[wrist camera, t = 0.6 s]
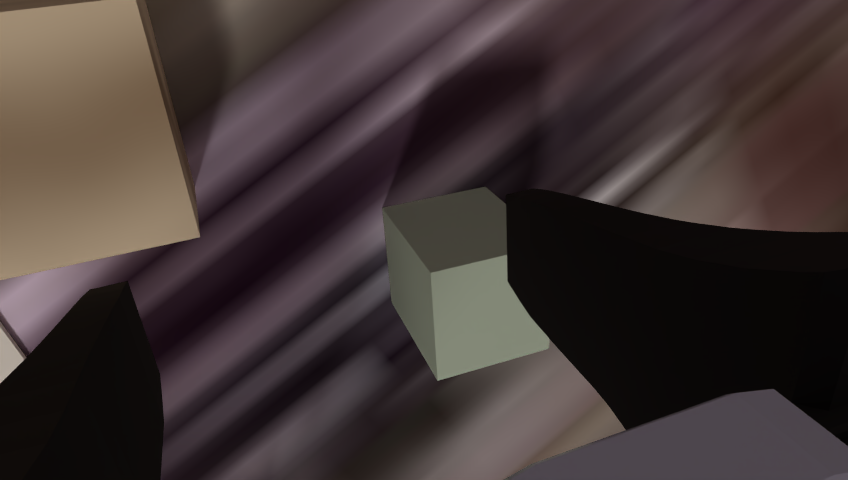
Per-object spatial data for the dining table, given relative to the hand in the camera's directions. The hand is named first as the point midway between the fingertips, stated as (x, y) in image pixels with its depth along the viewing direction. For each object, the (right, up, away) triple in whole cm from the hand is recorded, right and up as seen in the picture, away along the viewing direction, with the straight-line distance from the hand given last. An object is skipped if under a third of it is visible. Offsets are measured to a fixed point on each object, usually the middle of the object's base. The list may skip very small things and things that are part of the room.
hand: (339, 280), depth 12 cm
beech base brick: (-9, +5, +6) cm, 11 cm away
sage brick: (+2, +1, +12) cm, 12 cm away
